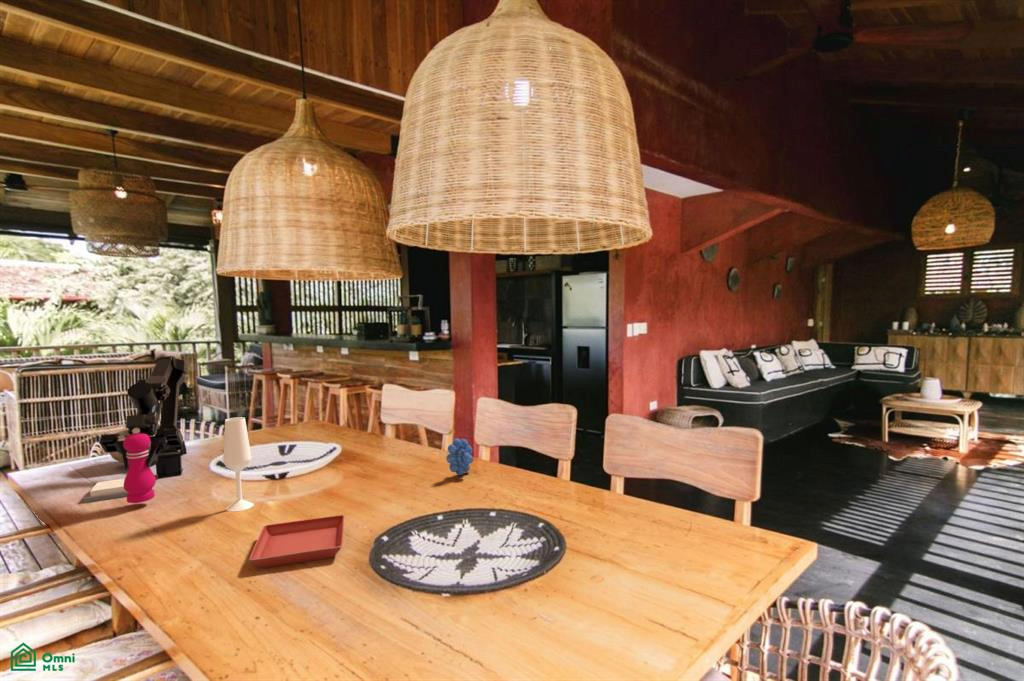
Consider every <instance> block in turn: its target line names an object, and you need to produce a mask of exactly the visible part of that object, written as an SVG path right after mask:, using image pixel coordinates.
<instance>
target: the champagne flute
mask: <svg viewBox="0 0 1024 681" xmlns="http://www.w3.org/2000/svg"><path fill="white" fill-rule="evenodd" d="M223 436H224V438H223V456H222V457H223V458H222V459H223V460H222V461H223V462H222V463H223V464H224V465H225V466H226V468H228V469H229V470H231V471H232V472H234V473H235V487H236V500H235V501H234V502H232V503H231V504H230V505H229V506H227V507H226V508H225V510H226V511H227V512H240V511H241V512H242V511H245V510H248V509H251V508H253V507H254V503H253V502H250V501H247V500H245V499H243V494H242V492H243V490H242V477H241V476H242V475H241V472H242V471H243V470H244V469H245V468H246V467H247V466H248V465H249V464H250V462H251V460H252V453H251V447H250V441H249V435H248V428H247V422H246V417H241V416H240V417H238V416H237V417H231V418H226V419H225V420H224V435H223Z"/></svg>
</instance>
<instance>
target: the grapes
mask: <svg viewBox="0 0 1024 681" xmlns="http://www.w3.org/2000/svg"><path fill="white" fill-rule="evenodd" d="M447 452H448V454H447V455H446V457H445V459H446V462H447V463H448V464H449V470H450V472H452V473H456V475H457V476H462V475H464V473H468V472H469V471H470V469H471V466H470V464H472V463H473V462H474V457H473V455H471V454H472V453H473V447H472V446H471V445H469V442H468V440H467V439H466V438H461V439H459V438H457V437H456V438H454V439H453V441H452V443H451V444H449V445H448V446H447Z"/></svg>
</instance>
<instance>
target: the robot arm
mask: <svg viewBox="0 0 1024 681" xmlns="http://www.w3.org/2000/svg"><path fill="white" fill-rule="evenodd" d="M188 373H189V365H188V363H187V362H186V361H185V360H183V359H179V358H177V357H176V356H172V355H169V356H168V355H167V356H164V355H163V356H159V357H156V359H155V365H154V368H153V369H152V371H151V373H150V376H149V377H147V378H145V379H138V380H137V382H136V383H134V384H132V385H131V386H129V388H127V391H126V392H127V396H128V397H129V399H130V402H131V403H132V405H133V408H135V409H136V413H135V414H132V415H127V416H126V418H125V419H126V420H125V428H128V429H129V430H128V433H129V434H133V432H132V430H133V429H134V428H139V429H140V433H144V434H147V435H148V436H149V438H150V443H151V445H150V446H151V449H150V452H149V456H148V459H147V467H150V466H151V465H153V464H154V463H153V462H154V460H155V459H156V458H158V460H157V461H156V462H155V469H156V470H155V471H156V475H157V478H158V479H160V478H161V479H162V478H166V477H167V478H168V477H173V476H174V477H176V476H181V475H183V471H184V469H183V463H182V461H183V460H182V456H184V455H187V450H188V449H187V446H186V442H185V441H184V436H183V434H182V431H181V430H180V428H178V427H177V424H178V411H179V410H178V409H179V396H180V387H181V385H182V384H184V382H185V381H186V377H187V375H188ZM160 402H162V403H160ZM159 420H160V423H159ZM158 424H160V426H158ZM126 437H127V436H120V435H119V433H113V434H110V433H104V434H102V435H101V436H100V437H99V440H98V443H99V446H100V447H101V448H102V450H103V451H104V452H105V453H107V454H108V453H109V454H110V453H111V452H119V453H120V454H122V456H123V461H124V463H123V464H124V468H125V469H126V470H128V469H129V458H127V454H126V453H127V452H128V451H127V450H126V449H125V448H124V445H123V443H124V440H125V438H126ZM152 463H153V464H152Z"/></svg>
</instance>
